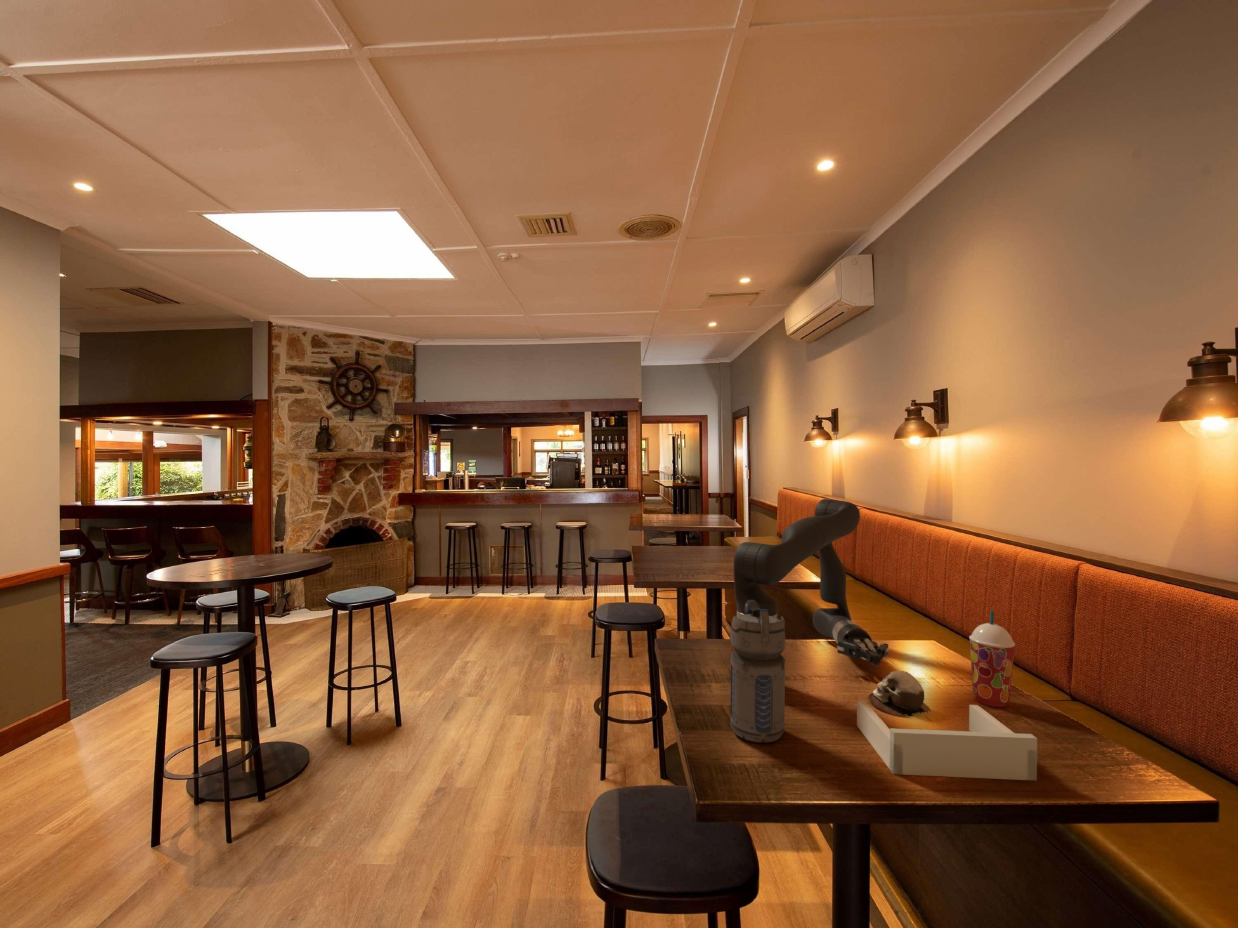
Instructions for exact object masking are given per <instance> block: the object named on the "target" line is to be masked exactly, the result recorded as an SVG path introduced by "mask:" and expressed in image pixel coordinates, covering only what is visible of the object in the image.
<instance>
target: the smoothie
mask: <svg viewBox="0 0 1238 928" xmlns="http://www.w3.org/2000/svg"><path fill="white" fill-rule="evenodd" d="M989 612H990V613H989V614H990V615H989V622H986V623H985V622H984V623H982V624H979V625H978V626H976V627H975V628H974V630H973V631H972V633H971V635H969V636H968V638H969V648H970V649H969V651H970V665H971V666H970V667H971V670H970V671H971V682H972V683H971V684H972V686H971V687H972V694H973V695H974V696H975V697H974V698H975V700H976V701H977V702H978V703H979V704H982V705H985V706H988V707H992V708H1005V707H1007V704H1008V702H1010V701H1011V691H1012V680H1013V679H1012V678H1013V670H1014V669H1013V668H1014V667H1013V666H1014V659H1015V658H1014V657H1015V646H1016V643H1015V641H1013V639H1012V638H1013V637H1012V636H1011V634H1010V633H1009V631H1008V630H1006V629H1005V628H1004V627H1002V626H1000V625H999V624H997V623H994V622H995V617H994V615H995V612H994V611H993V610H990V611H989Z"/></svg>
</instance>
